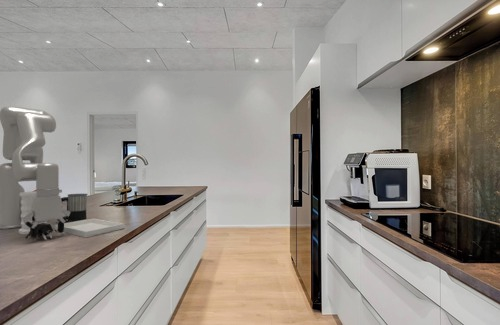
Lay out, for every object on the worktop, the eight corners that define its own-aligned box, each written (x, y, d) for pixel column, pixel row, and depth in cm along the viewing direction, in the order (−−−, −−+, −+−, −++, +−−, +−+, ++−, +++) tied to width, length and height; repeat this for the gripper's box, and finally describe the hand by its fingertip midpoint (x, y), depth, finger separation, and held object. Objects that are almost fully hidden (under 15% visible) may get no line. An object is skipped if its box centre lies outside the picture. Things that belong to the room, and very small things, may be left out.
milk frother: (85, 219, 156) (85, 192, 157) (92, 223, 145) (92, 195, 145) (54, 223, 147) (54, 194, 147) (59, 228, 135) (59, 197, 135)
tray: (54, 230, 130) (54, 225, 130) (92, 223, 146) (92, 218, 146) (86, 237, 117) (86, 231, 117) (124, 228, 133) (124, 223, 133)
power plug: (31, 234, 120) (50, 218, 119) (40, 249, 120) (59, 233, 118) (18, 237, 115) (38, 221, 113) (27, 253, 114) (47, 237, 112)
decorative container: (47, 226, 138) (47, 190, 138) (52, 230, 129) (52, 192, 129) (17, 231, 129) (17, 192, 129) (20, 235, 121) (20, 194, 121)
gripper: (65, 191, 125) (65, 229, 125) (18, 195, 110) (18, 238, 110) (74, 191, 121) (74, 231, 121) (26, 196, 106) (26, 241, 106)
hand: (47, 234), depth 115 cm, fingers open, 9 cm apart
